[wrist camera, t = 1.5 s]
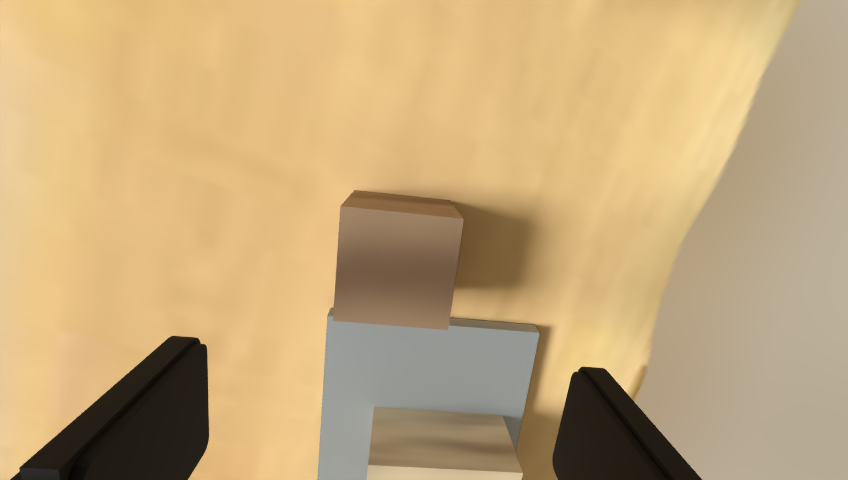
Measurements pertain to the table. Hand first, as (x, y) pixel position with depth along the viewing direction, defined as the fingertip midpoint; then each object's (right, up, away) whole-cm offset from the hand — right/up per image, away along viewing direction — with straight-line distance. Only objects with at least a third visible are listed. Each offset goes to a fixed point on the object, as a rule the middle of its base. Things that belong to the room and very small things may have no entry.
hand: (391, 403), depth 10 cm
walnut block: (-1, +4, +16) cm, 16 cm away
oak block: (+1, -12, +19) cm, 22 cm away
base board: (0, -11, +19) cm, 22 cm away
